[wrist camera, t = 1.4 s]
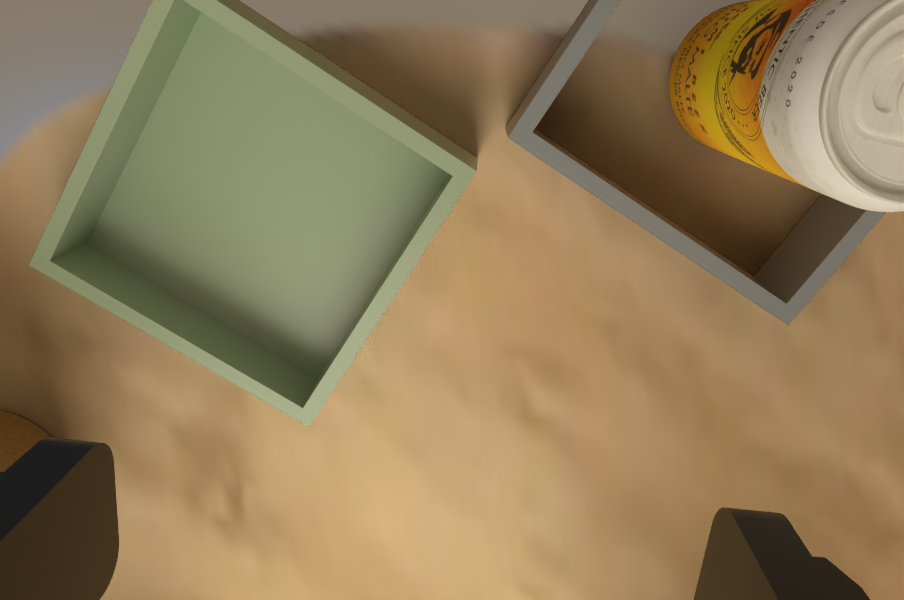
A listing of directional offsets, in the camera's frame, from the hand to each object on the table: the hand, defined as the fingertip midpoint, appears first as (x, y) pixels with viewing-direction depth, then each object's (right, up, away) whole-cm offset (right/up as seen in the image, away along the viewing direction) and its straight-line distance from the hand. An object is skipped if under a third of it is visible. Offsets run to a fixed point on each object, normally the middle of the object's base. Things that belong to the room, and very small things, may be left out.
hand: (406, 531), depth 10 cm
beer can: (+13, +13, +23) cm, 29 cm away
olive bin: (-8, +8, +25) cm, 27 cm away
